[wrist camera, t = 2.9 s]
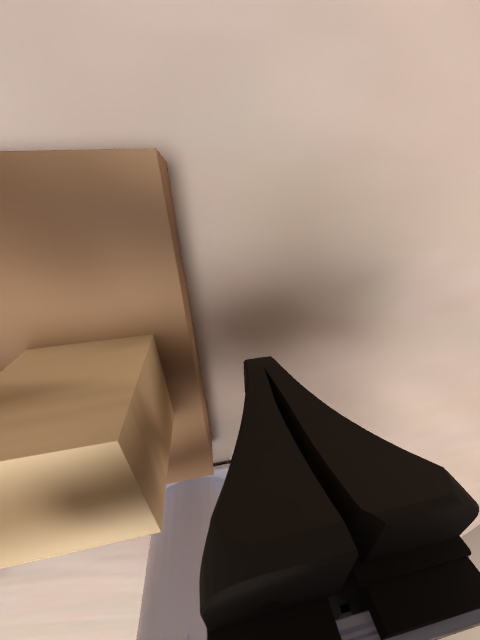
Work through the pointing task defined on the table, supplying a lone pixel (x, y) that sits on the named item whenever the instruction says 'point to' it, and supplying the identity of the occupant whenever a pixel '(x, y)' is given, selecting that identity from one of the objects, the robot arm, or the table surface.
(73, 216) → the board
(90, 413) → the maple block
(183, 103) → the table surface
